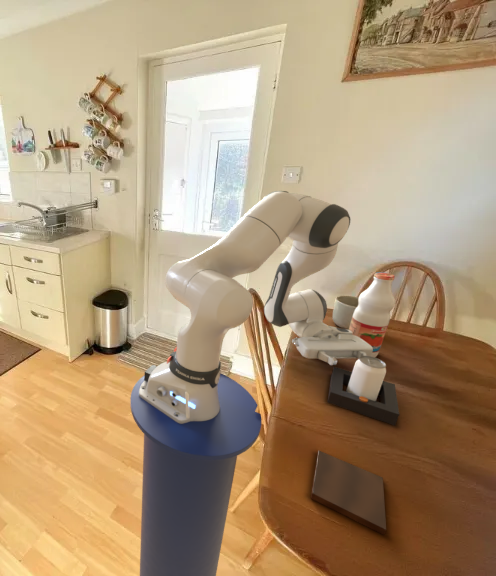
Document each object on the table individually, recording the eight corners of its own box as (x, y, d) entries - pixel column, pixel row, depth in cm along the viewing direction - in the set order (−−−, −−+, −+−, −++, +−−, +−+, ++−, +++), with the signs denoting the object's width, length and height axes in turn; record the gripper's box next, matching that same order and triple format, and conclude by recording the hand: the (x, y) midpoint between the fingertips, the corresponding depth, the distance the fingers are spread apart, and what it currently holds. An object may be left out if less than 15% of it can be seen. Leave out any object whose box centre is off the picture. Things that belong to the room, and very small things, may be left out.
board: (310, 498, 60) (312, 493, 60) (317, 455, 69) (318, 450, 69) (383, 535, 54) (386, 529, 54) (380, 482, 63) (382, 477, 63)
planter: (367, 325, 125) (375, 300, 121) (366, 337, 116) (375, 311, 112) (330, 316, 132) (337, 293, 128) (327, 328, 123) (334, 302, 119)
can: (345, 400, 85) (357, 363, 81) (345, 387, 90) (356, 352, 86) (375, 410, 82) (389, 371, 77) (373, 396, 87) (386, 359, 82)
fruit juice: (358, 342, 113) (382, 268, 103) (384, 357, 104) (413, 278, 94) (336, 345, 111) (358, 271, 101) (361, 360, 102) (387, 280, 92)
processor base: (327, 402, 85) (330, 390, 83) (331, 376, 95) (334, 365, 94) (394, 425, 77) (400, 413, 75) (390, 394, 87) (395, 382, 86)
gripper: (291, 330, 101) (316, 353, 88) (354, 329, 100) (390, 353, 88) (287, 346, 103) (311, 372, 90) (349, 346, 103) (383, 372, 90)
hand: (351, 363), depth 89 cm, fingers open, 8 cm apart
